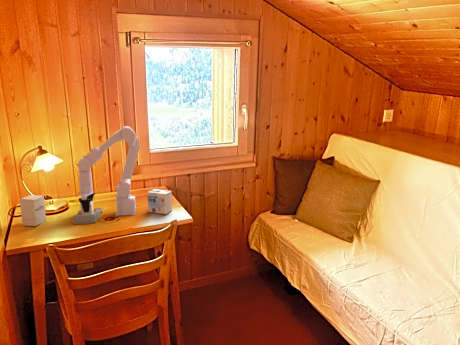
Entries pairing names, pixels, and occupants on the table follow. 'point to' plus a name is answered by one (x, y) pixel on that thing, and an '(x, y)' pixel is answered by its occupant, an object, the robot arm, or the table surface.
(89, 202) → the robot arm
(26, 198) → the supplement box
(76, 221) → the tray
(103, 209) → the stand
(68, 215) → the table surface
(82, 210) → the block
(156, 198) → the light bulb box
